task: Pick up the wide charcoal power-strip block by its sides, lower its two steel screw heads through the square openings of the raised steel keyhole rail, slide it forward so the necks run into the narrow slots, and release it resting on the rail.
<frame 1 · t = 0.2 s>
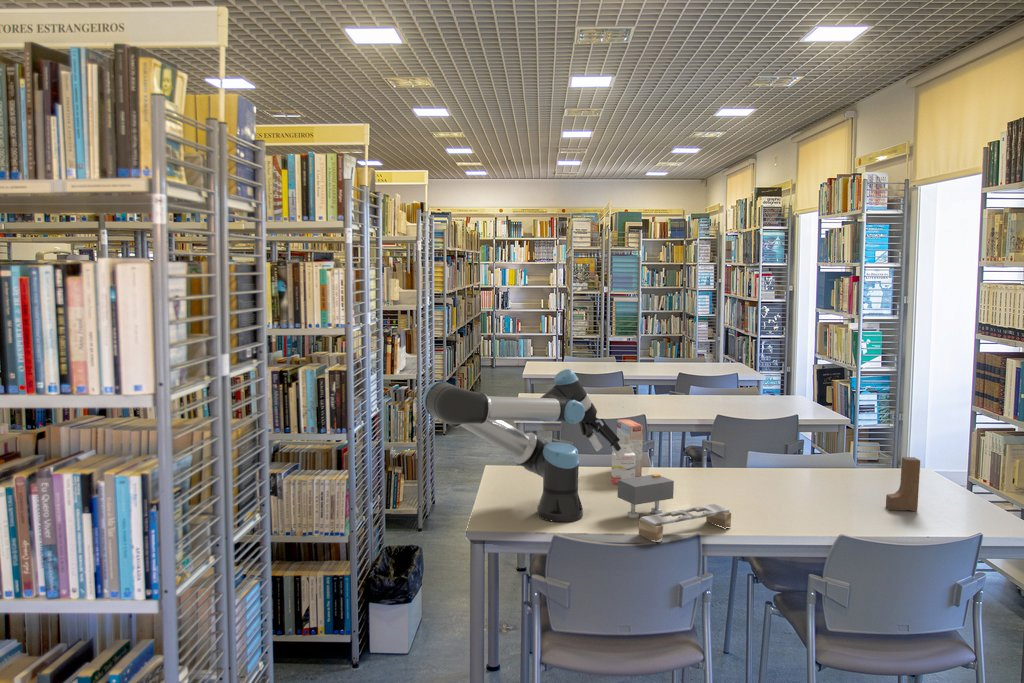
hand: (610, 452, 273), 15 cm above the table, tool tilted 35°, fingers open, 13 cm apart
cracker box: (628, 473, 304), on the table
ink cartridge box: (622, 483, 289), on the table
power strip: (644, 514, 252), on the table
keyhole board: (685, 531, 236), on the table
wooden block: (901, 509, 260), on the table
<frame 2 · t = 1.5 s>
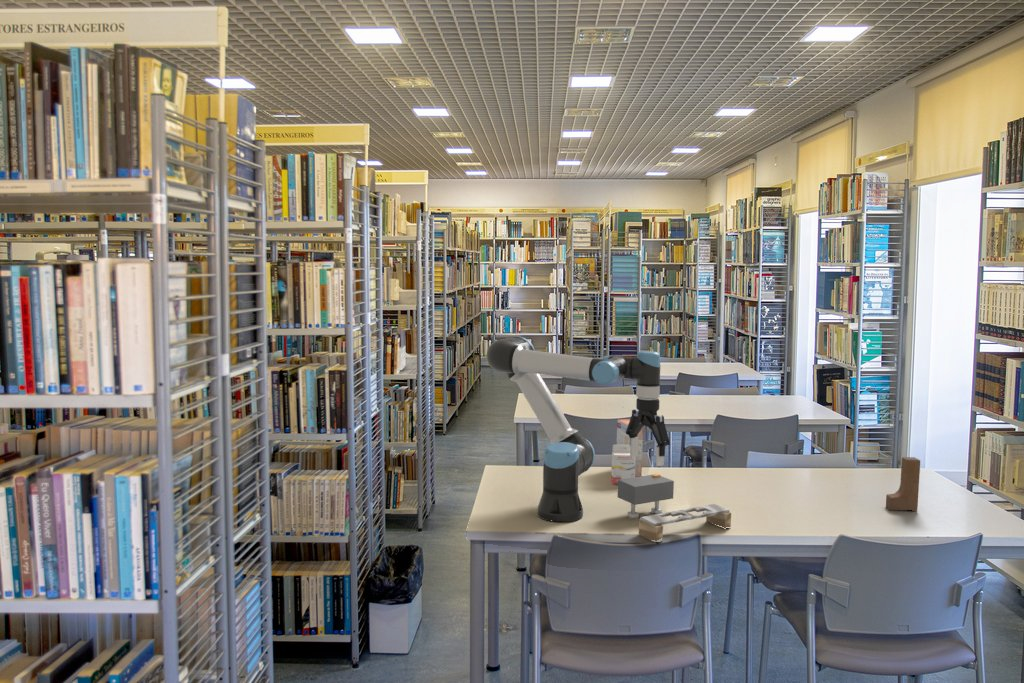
hand: (646, 461, 250), 18 cm above the table, tool pointing down, fingers open, 13 cm apart
nothing on the table moved.
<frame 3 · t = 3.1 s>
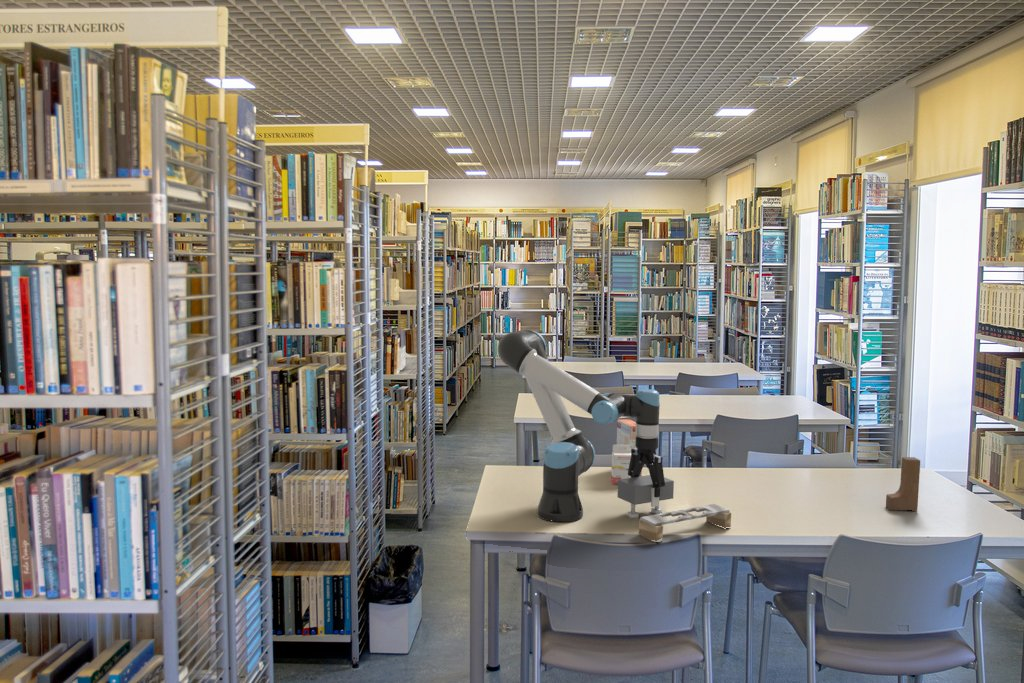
hand: (645, 501, 251), 4 cm above the table, tool pointing down, fingers closed on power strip, 9 cm apart
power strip: (644, 514, 252), on the table, touching gripper
everything else where it was.
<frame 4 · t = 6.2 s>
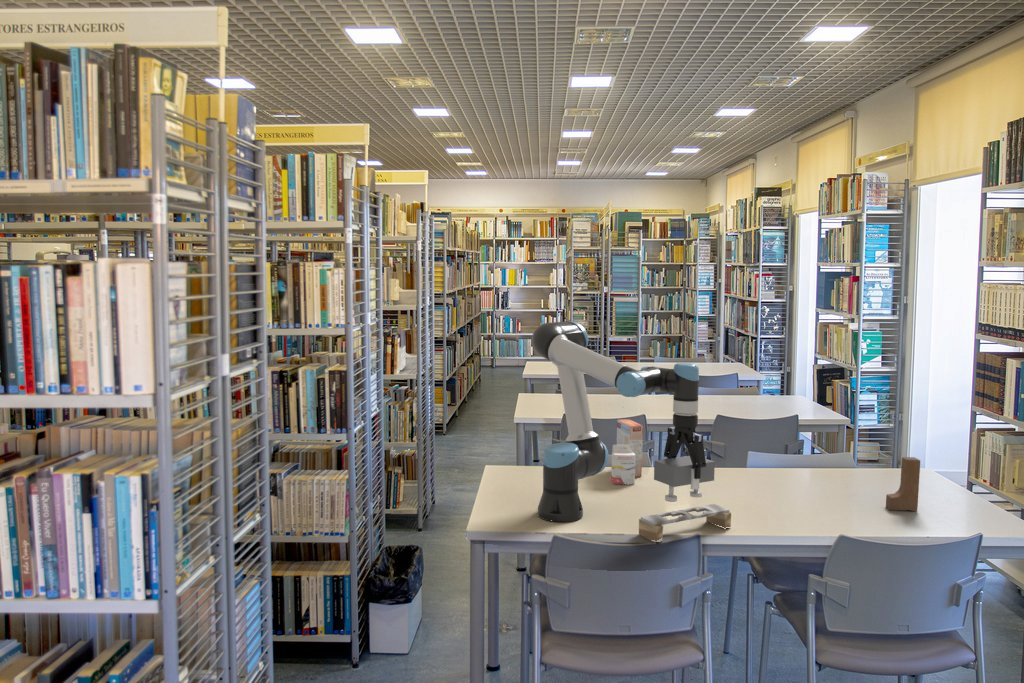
hand: (683, 484, 233), 15 cm above the table, tool pointing down, fingers closed on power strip, 9 cm apart
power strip: (683, 497, 234), point 11 cm above the table, touching gripper
everything else where it was.
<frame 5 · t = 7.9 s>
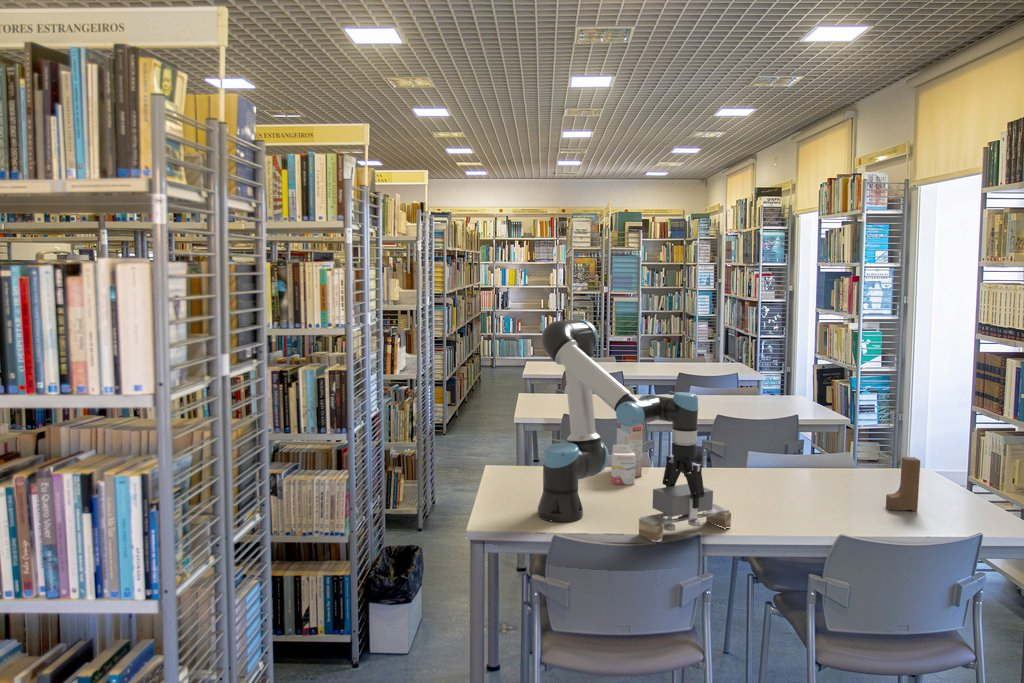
hand: (682, 513, 234), 6 cm above the table, tool pointing down, fingers closed on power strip, 9 cm apart
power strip: (681, 526, 235), point 2 cm above the table, touching gripper
everything else where it was.
when the fingers open (6 cm above the table, at t = 9.5 s): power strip drops 2 cm, resting on keyhole board.
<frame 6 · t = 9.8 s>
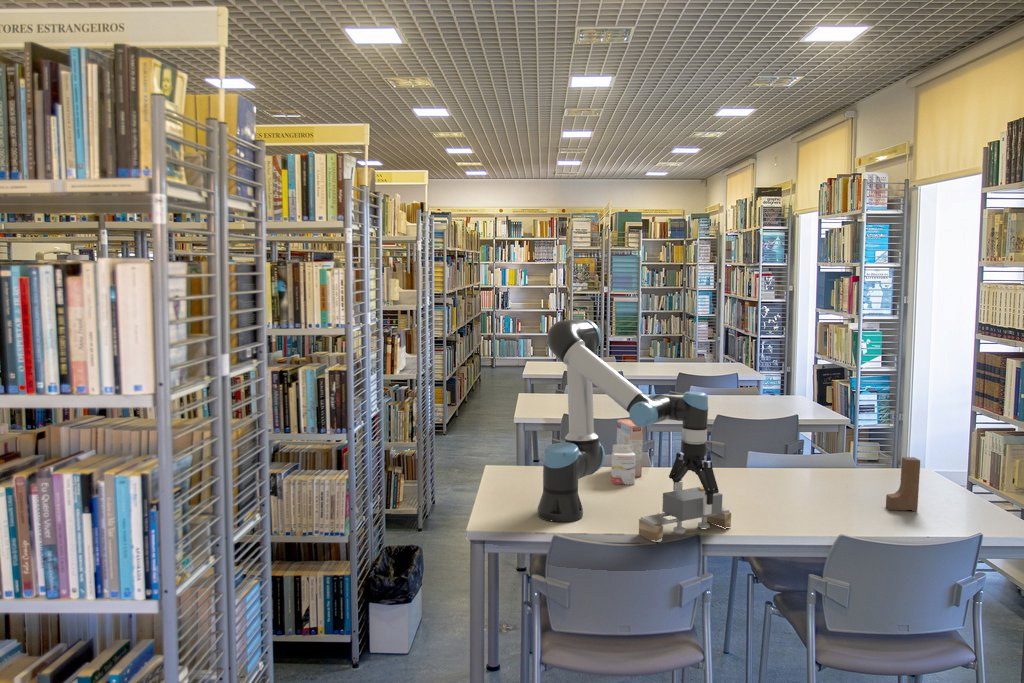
hand: (692, 508, 236), 7 cm above the table, tool pointing down, fingers open, 13 cm apart
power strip: (691, 529, 237), resting on keyhole board
everything else where it was.
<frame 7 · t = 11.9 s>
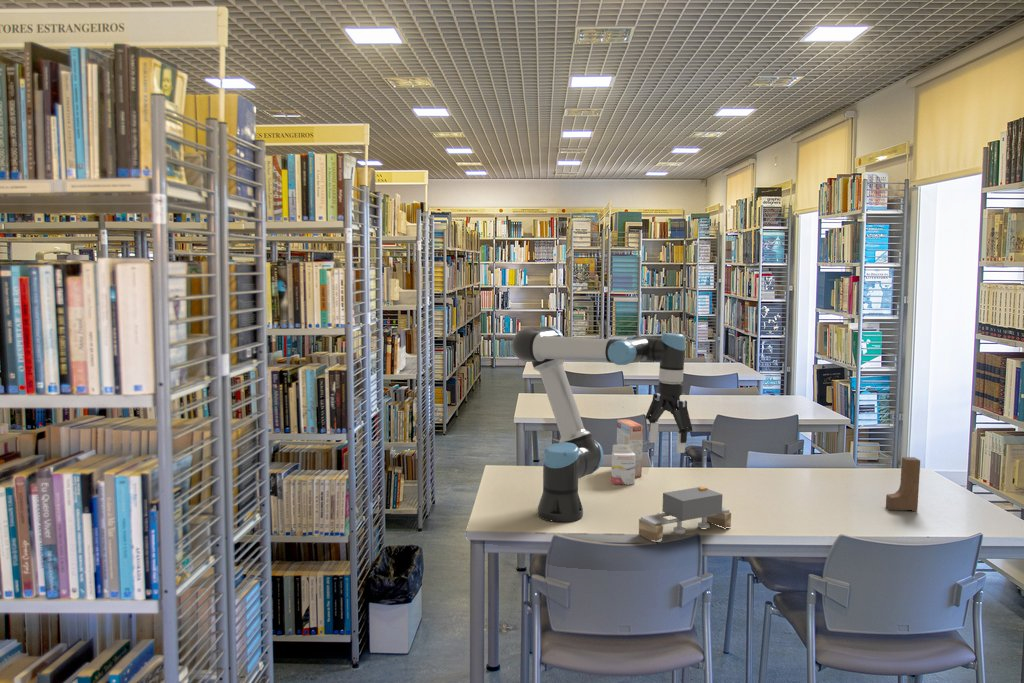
hand: (666, 447, 241), 25 cm above the table, tool pointing down, fingers open, 13 cm apart
nothing on the table moved.
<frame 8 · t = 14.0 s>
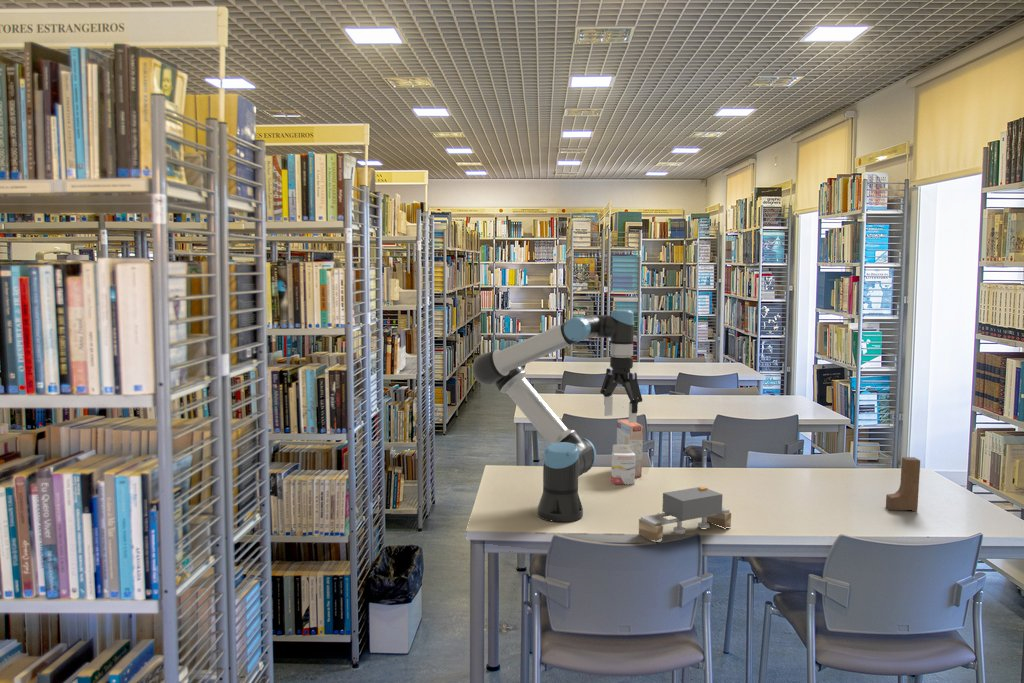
hand: (620, 419, 252), 32 cm above the table, tool pointing down, fingers open, 13 cm apart
nothing on the table moved.
at the end: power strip 0.0 cm from the target spot on the keyhole board, point 0.1 cm above the keyhole board's base; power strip tilted 0°; the gripper is holding nothing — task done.
